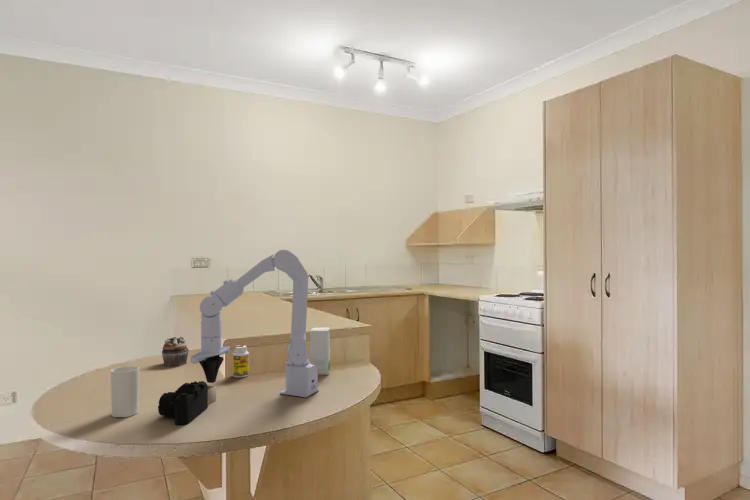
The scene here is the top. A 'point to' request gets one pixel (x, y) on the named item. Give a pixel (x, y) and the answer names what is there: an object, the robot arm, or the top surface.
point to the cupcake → (175, 352)
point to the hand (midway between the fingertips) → (211, 382)
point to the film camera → (185, 402)
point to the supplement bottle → (240, 362)
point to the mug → (124, 391)
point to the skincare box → (320, 349)
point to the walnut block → (211, 394)
